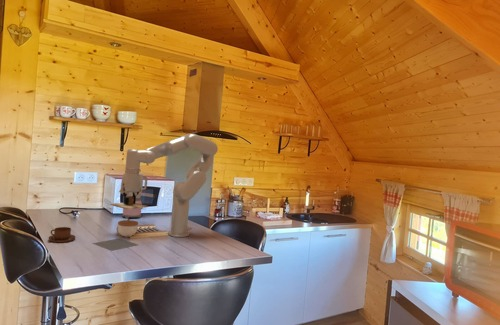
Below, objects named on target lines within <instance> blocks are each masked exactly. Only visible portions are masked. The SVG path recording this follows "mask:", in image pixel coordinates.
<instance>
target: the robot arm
mask: <svg viewBox="0 0 500 325" xmlns="http://www.w3.org/2000/svg"><path fill="white" fill-rule="evenodd" d="M218 148H219V147H218V145H217V143H216V142H214V141H212V140H210V139H207V138H205V137H204V136H203V137H202V136H201V135H198V134H196V133H187V134H184V135H182V136H177V137H176V138H173V139H171V140H167V141H166V142H163V143H160V144H157V145H154V146H151V147H148V148H146V149H144V150H140V149H135V148H129V149H127V151H126V158H125V169H124V170H125V171H124V173H123V174H122V178H121V182H120V190H119V194H121V195H122V197H123V203H124V204H126V205H128V203H129V197H128V195H129V192H132V197H134V202H133V204H135V202H136V197H137V195H138V194H139V193H140V192H141V188H140V174H141V173H140V172H142V171H141V163H143V164H153V163H154V162H155V161H156V159H159V158H163V157H167V156H168V157H170V156H174V155H177V154H179V153H182V152H185V151H187V150H190V149H193V150H195V151H197V152H199V158H198V160H197V161H196V162H195V164H194V165H193V166H192V167H191V168H190V169H189V170H188V171H187V173H186V180H185V181H180V182H179V181H178V182H177V183H176V184H175V185H174V186H173V188H172V189H173V190H172V191H173V192H172V194H173V196H172V198H173V199H172V203H173V204H172V213H171V223H170V226H171V227H170V230H169V231H168V232H167V235H168V236H170V237H175V238H185V237H189V236H190V232H189V231H191V230H193V226H188V223H189V222H188V220H189V210H190V200H192V199H193V198H194V197H195V196H196V194H197V193H198V192H199V191H200V189H202V188H203V186H204V184H206V181H207V172H208V171H209V170H210V168H211V167H212V166H213V163H214V156H215V155H216V154H217V153H218V150H219V149H218ZM134 192H135V193H134ZM141 193H142V192H141Z"/></svg>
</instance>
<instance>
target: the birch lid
mask: <svg viewBox="0 0 500 325" xmlns="http://www.w3.org/2000/svg"><path fill="white" fill-rule="evenodd" d="M128 197H129V203H128V205H126V204H124V202H114V203H113V202H112V203H110V206H113V207H116V208H120V209H122V210H123V209H136V208H142V209H144V208H148V205H145V204H143V203H142V204H138V203H135V204H133V202H134V197H132V196H128Z"/></svg>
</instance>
